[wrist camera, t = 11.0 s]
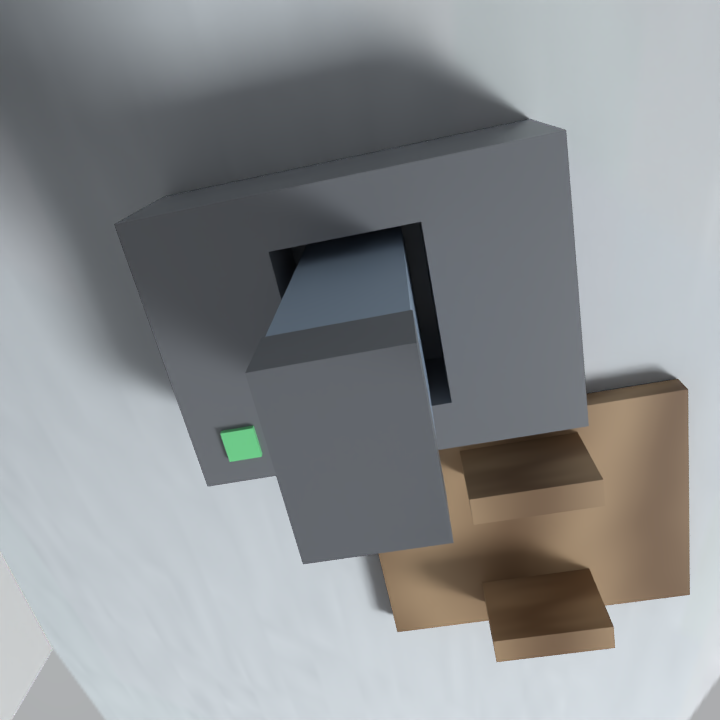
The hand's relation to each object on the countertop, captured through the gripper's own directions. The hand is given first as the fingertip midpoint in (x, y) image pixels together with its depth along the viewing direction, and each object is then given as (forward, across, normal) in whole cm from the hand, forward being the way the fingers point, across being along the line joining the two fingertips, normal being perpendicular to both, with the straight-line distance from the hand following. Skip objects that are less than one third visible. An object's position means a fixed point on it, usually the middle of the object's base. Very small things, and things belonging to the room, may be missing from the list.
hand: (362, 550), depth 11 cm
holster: (+16, +4, -12) cm, 21 cm away
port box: (+16, -1, 0) cm, 16 cm away
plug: (+15, 0, 0) cm, 15 cm away
